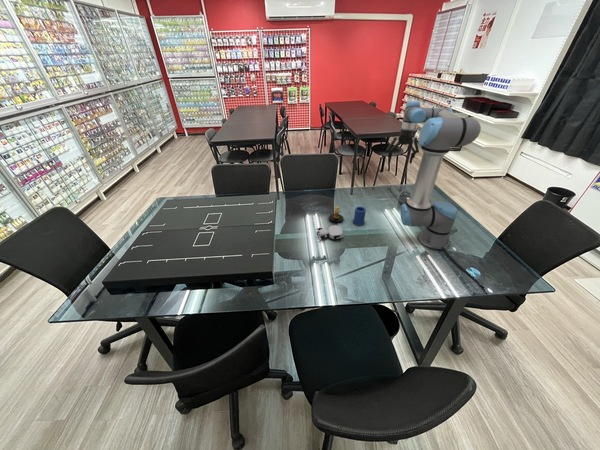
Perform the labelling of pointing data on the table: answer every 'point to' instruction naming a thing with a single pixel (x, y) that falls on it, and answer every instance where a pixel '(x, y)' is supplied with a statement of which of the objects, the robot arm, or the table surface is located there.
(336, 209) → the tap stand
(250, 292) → the table surface
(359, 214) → the blue sleeve
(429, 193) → the robot arm
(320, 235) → the robot toy
